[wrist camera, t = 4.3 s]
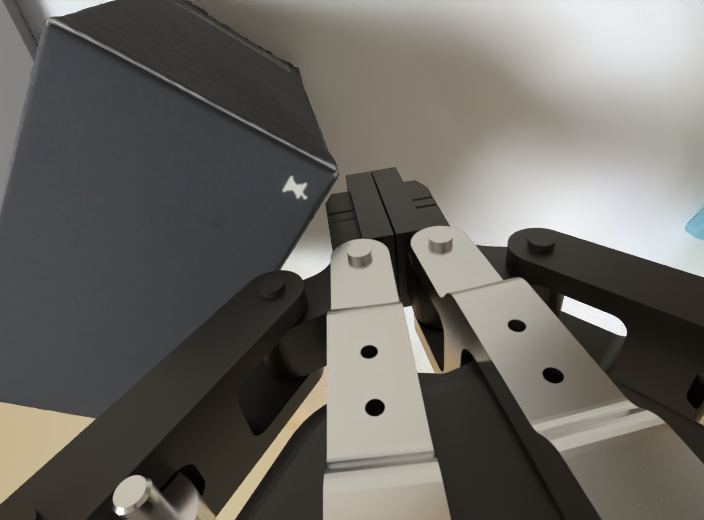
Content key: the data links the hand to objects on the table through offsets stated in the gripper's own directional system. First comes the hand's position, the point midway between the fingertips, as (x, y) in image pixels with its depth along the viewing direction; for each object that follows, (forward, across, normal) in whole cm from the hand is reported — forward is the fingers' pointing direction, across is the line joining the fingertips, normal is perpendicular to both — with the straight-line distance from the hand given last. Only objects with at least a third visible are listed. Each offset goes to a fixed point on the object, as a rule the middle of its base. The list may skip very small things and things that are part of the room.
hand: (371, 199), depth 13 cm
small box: (+8, +7, 0) cm, 11 cm away
